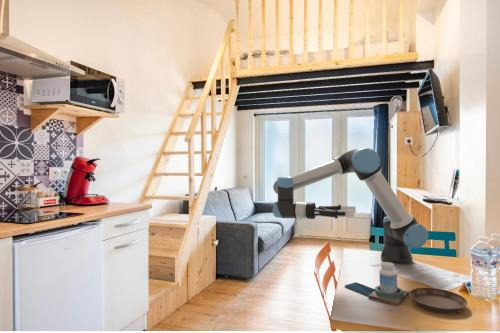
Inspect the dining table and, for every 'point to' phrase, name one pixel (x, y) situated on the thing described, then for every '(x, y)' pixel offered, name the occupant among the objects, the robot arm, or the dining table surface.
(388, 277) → the pill bottle
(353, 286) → the smartphone
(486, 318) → the dining table surface
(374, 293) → the holder board
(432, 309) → the plant saucer
